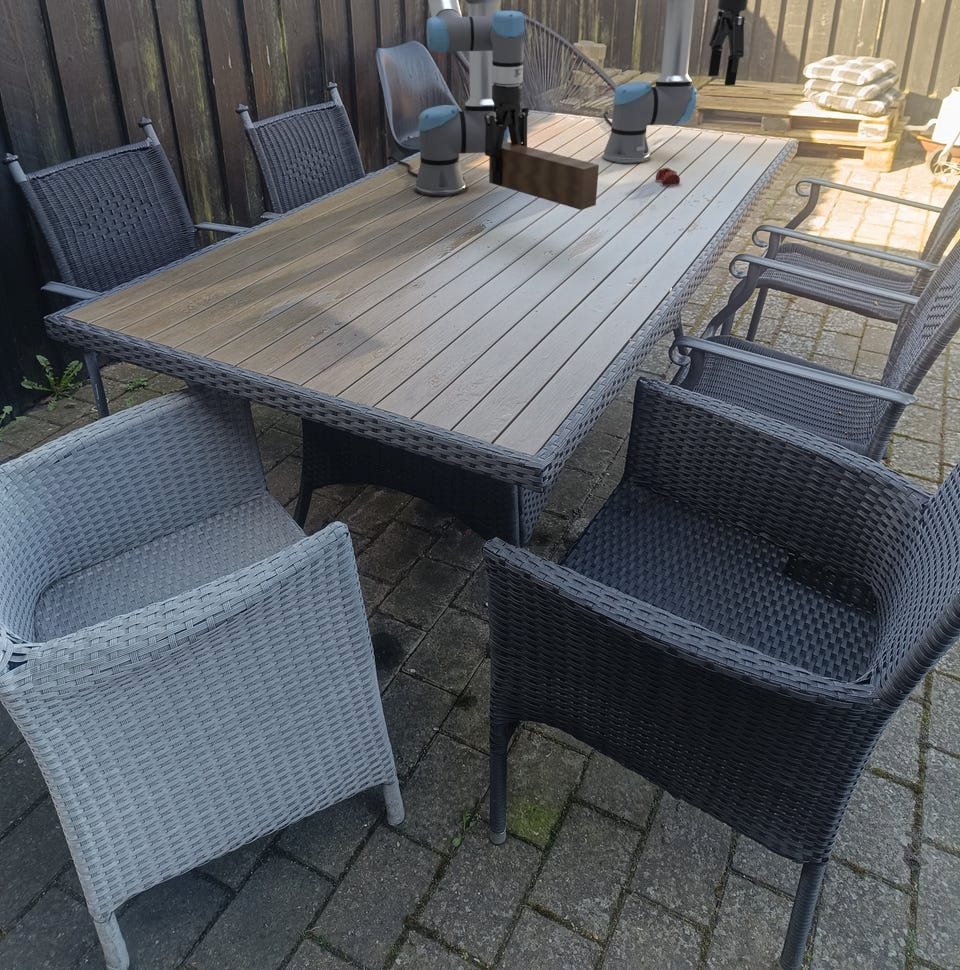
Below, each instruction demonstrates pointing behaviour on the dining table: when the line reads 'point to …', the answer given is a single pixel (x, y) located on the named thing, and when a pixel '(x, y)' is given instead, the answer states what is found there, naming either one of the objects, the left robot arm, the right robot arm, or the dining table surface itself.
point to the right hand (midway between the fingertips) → (721, 80)
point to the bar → (548, 175)
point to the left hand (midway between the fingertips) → (505, 181)
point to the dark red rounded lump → (668, 176)
